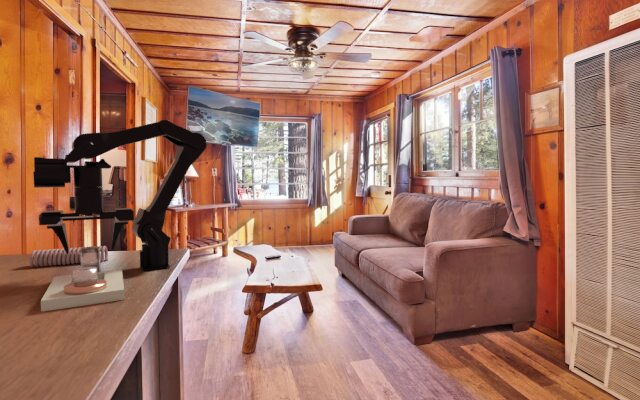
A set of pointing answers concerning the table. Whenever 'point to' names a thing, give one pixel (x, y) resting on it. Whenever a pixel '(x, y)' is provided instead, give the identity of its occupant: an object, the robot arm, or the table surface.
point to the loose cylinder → (90, 257)
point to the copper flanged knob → (85, 282)
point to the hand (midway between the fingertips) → (91, 251)
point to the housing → (60, 300)
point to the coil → (60, 256)
